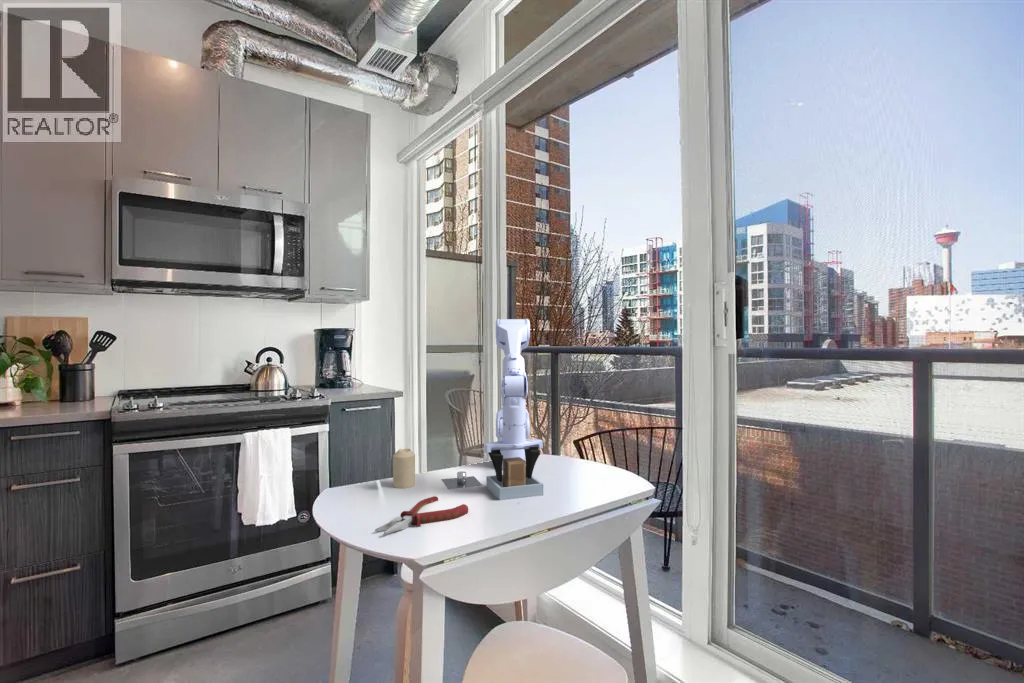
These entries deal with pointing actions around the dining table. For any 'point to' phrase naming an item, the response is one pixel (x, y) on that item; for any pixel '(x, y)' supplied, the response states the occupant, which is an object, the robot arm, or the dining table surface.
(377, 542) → the dining table surface
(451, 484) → the base
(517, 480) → the brown block
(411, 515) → the pliers
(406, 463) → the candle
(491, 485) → the bin
